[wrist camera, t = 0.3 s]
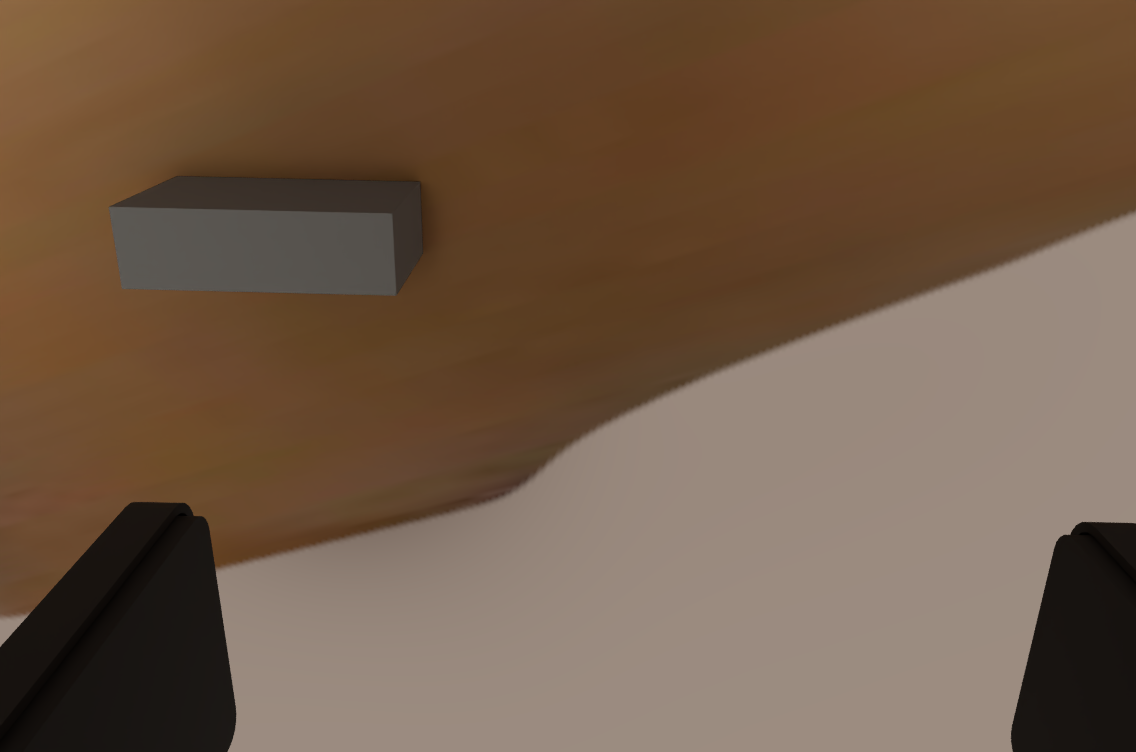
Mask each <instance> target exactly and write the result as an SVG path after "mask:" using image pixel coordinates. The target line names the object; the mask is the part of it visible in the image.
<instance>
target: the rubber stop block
mask: <svg viewBox="0 0 1136 752" xmlns="http://www.w3.org/2000/svg"><path fill="white" fill-rule="evenodd" d="M109 211H110V217H111V223H112V230H113V236H114V242H115V248H116V254H117V260H118V267H119V273H120V279H121V285H122V289H151V290H191V291H232V292H273V293H313V294H354V295H394V296H396V295H397V294H398V292H399V290H400V289H401V287H402V286H403V284H404V283H405V281H406V279H407V278H408V276H409V275H410V273H411V271H412V270H413V268H414V267H415V265H416V264H417V262H418V260H419V259H420V257H421V256H422V254H423V242H422V216H421V190H420V182H408V181H365V180H322V179H279V178H236V177H193V176H176V177H174V178H172V179H170V180H167V181H165V182H163V183H161V184H158V185H156V186H154V187H152V188H150V189H147V190H145V191H143V192H141V193H138V194H136V195H134V196H132V197H130V198H127V199H125V200H123V201H121V202H119V203H116V204H114V205H112V206H110V207H109Z"/></svg>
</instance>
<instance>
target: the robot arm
mask: <svg viewBox="0 0 1136 752" xmlns="http://www.w3.org/2000/svg"><path fill="white" fill-rule="evenodd" d="M235 725H236V706H235V699H234V692H233V685H232V679H231V672H230V665H229V658H228V652H227V645H226V638H225V631H224V625H223V618H222V611H221V604H220V598H219V591H218V584H217V577H216V571H215V564H214V557H213V550H212V544H211V537H210V530H209V526H208V523H207V521H206V519H205V518H204V517H202V516H193V512H192V510H191V509H190V507H189V506H188V505H187V504H185V503H160V502H132V503H130V504H129V505H128V506H126V507H125V508H124V509H123V511H122V512H121V513H120V514H119V515H118V516H117V517H116V518H115V520H114V521H113V522H112V523H111V524H110V525H109V526H108V527H107V528H106V530H105V531H104V532H103V533H102V534H101V535H100V536H99V537H98V538H97V540H96V541H95V542H94V543H93V544H92V545H91V546H90V547H89V549H88V550H87V551H86V552H85V553H84V554H83V555H82V556H81V557H80V559H79V560H78V561H77V562H76V563H75V564H74V565H73V566H72V568H71V569H70V570H69V571H68V572H67V573H66V574H65V575H64V576H63V578H62V579H61V580H60V581H59V582H58V583H57V584H56V585H55V586H54V588H53V589H52V590H51V591H50V592H49V593H48V594H47V595H46V597H45V598H44V599H43V600H42V601H41V602H40V603H39V604H38V605H37V607H36V608H35V609H34V610H33V611H32V612H31V613H30V614H29V615H28V617H27V618H26V619H25V620H24V621H23V622H22V623H21V625H20V626H19V627H18V628H17V629H16V630H15V631H14V632H13V633H12V635H11V636H10V637H9V638H8V639H7V640H6V641H5V642H4V643H3V645H2V646H1V647H0V752H227V751H228V749H229V747H230V745H231V742H232V739H233V735H234V731H235ZM1011 743H1012V749H1013V752H1136V524H1135V523H1104V522H1081V523H1079V524H1078V525H1076V526H1075V528H1074V529H1073V530H1072V532H1071V535H1063V536H1061V537H1060V538H1059V539H1058V541H1057V542H1056V545H1055V548H1054V552H1053V556H1052V560H1051V564H1050V569H1049V573H1048V577H1047V581H1046V585H1045V590H1044V594H1043V598H1042V602H1041V606H1040V611H1039V615H1038V619H1037V624H1036V627H1035V632H1034V636H1033V640H1032V644H1031V648H1030V653H1029V657H1028V662H1027V666H1026V670H1025V674H1024V678H1023V682H1022V686H1021V691H1020V695H1019V699H1018V703H1017V707H1016V712H1015V716H1014V721H1013V724H1012V731H1011Z"/></svg>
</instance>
